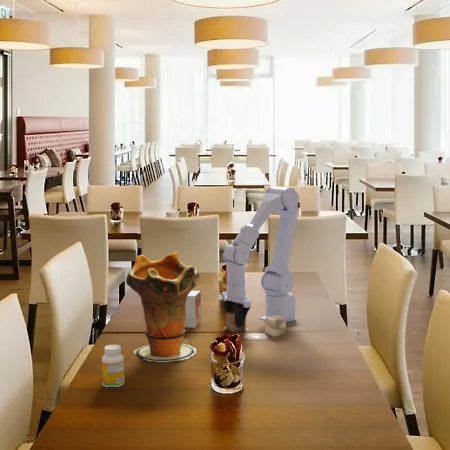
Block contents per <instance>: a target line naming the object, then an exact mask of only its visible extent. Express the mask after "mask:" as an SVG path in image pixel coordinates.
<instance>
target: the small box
mask: <svg viewBox="0 0 450 450" xmlns="http://www.w3.org/2000/svg"><path fill="white" fill-rule="evenodd" d="M201 293H202V292H201V290H191V292H190V293H189V294H188V296H187V300H186V319H185V324H184V328H190V329H191V328H193V329H196V328H197V326H198V325H199V324H201V321H202V316H201V315H202V310H201V309H202V306H201V305H202V304H201V303H202V300H201V298H202V295H201Z"/></svg>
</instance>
